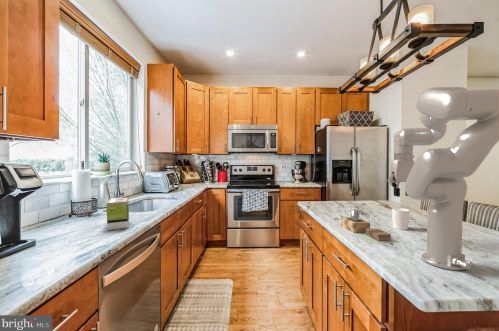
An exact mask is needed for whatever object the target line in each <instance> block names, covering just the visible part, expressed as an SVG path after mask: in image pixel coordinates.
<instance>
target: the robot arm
mask: <svg viewBox="0 0 499 331" xmlns="http://www.w3.org/2000/svg"><path fill="white" fill-rule="evenodd" d="M415 104H416V110H417V111H418V112H419V113H420V116H419V117H420V118H419V119H420V122H421V124H422V126H424V127H414V128H409V127H408V128H402V129H400V130H396V131H395V132H394V134H393V160H391V164H390V168H389V169H390V170H389V177H388V179H387V182H388V183H389V184H390V186H392V188H393V196H394V197H397V198H399V197H400V196H401V188H400V185H401V183H402V182H403V183H405V184H404V191H405V194H404V195H405V197H409V198H411V199H413V200H416V201H417V200H419V201H432V202H431V203H430V205H429V207H428V209H427V213H426V215H427V217H426V221H427V222H426V223H427V224H426V252H423V253H422V254H421V260H422V261H424V262H425V263H427V264H428V265H431V266H434V267H437V268H441V269H444V270H451V271H463V270H464V271H465V270H470V269H471V267H473V265H474V264H473V262H472V261H469V260H466V255H465V254H464V253H462V252H463V219H464V217H463V215H464V214H463V213H464V204H465V200H466V196H467V192H468V182H467V181H466V180H465V178H469V177H471V176H472V175H473V174H474V173H475V172H476V171H477V170H478V169H479V168H480V166H481V165H482V163H483V162H484V161H485V160H486V158H487V156H488V155H489V154H490V153H491V151H492V150H493V148H494V147H495V146H496V145H497V143H499V89H497V88H496V89H495V88H494V89H493V88H492V89H491V88H489V89H488V88H487V89H486V88H485V89H484V88H481V89H480V88H479V89H467V88H465V87H463V86H440V87H439V86H438V87H428V88H427V89H424V90H423V91H422V92H421V93H420V94H419V96H418V97H417V99H416V103H415ZM473 120H474V121H476V122H474V123H473V124H471V125H469V126H468V127H466V128H465V129H464V130H463V131H461V132H460V133H459V134H458V136H457V137H456V139H455V141H453V144H452V145H451V146H449V147H446V148H442V147H441V148H428V149H426V150H424V151H422V152H421V153H419V155H418V156H417V158H416V159H415V161H414V159H413V158H415V154H414V146H431V145H434V144H436V143H438V142H439V141H440V140H441V139H442V138H444V137H445V136H446V135H445V134H446V133H447V126H448V122H451V121H473Z"/></svg>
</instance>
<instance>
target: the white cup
mask: <svg viewBox="0 0 499 331" xmlns="http://www.w3.org/2000/svg"><path fill="white" fill-rule="evenodd" d="M410 211H411V210H410V209H408V208H403V207H402V208H400V207H393V208H391V217H392V218H391V220H392V227H393V229H396V230H400V231H407V230H409V224H410Z"/></svg>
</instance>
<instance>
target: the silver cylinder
mask: <svg viewBox="0 0 499 331" xmlns="http://www.w3.org/2000/svg"><path fill="white" fill-rule="evenodd" d="M350 217H351V221H353V222H359V218H360V210H359V209H351V210H350Z"/></svg>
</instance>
